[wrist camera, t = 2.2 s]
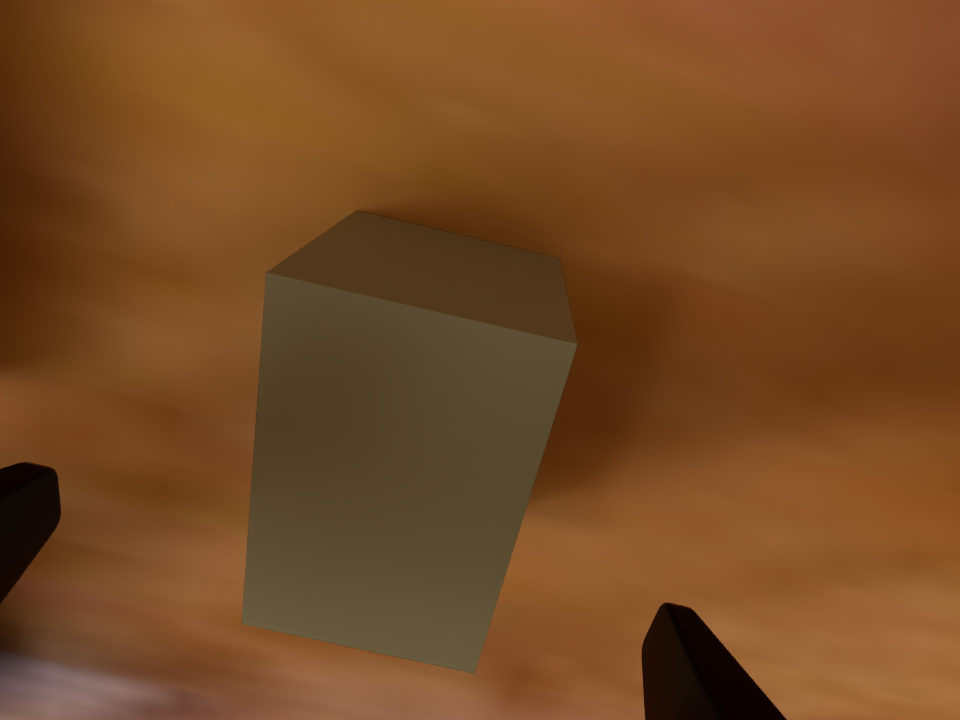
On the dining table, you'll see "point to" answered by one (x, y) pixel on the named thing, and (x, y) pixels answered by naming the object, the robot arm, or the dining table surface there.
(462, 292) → the sage brick
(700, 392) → the dining table surface
